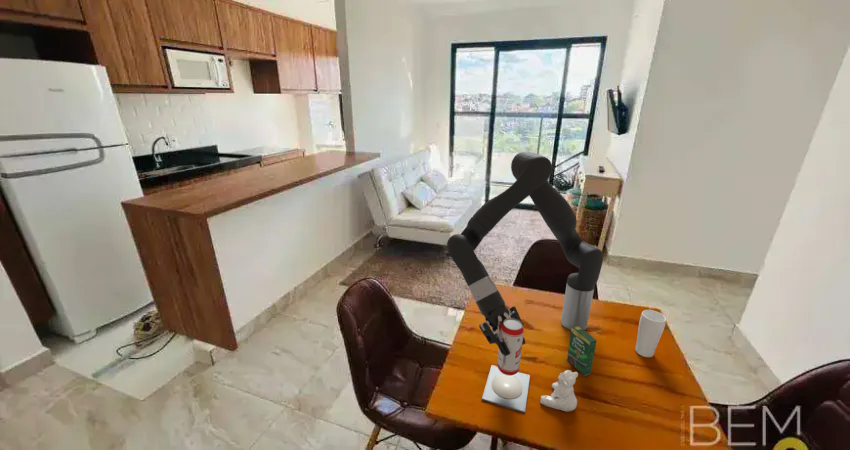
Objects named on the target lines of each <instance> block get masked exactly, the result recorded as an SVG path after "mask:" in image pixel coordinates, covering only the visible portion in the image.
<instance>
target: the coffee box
mask: <svg viewBox="0 0 850 450" xmlns="http://www.w3.org/2000/svg"><path fill="white" fill-rule="evenodd" d="M569 337H570V338H569V344H568V352H567V357H566V359H567V360H566V361H568V363H569V364H571V365H572V366H573V367H574V368H575V369H576V370H577V372H579V373H580V374H581V375H582V376H583V377H586V376H589V375H590V374H591V372H592V368H593V367H592V366H593V361H594V356H595V350H596V346H597V339H596V338H595V337H593V336H592V335H591V334H589V333H588V332H587V331H586V330H583V329H582V328H580V327H579V326H575V327H572V328H571V330H570V336H569Z"/></svg>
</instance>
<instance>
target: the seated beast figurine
mask: <svg viewBox="0 0 850 450" xmlns="http://www.w3.org/2000/svg"><path fill="white" fill-rule="evenodd" d="M578 377H579V373H578V371H574V372H572V370H569V369H567V370H564V371H563V372H560V373H559V376H558V377H557V379H558V380H557V381H555V382H553V383H552V384H551V388H552V389H553V392H552V393H551V394H550V395H541V396H540V401H539V402H540V404H541V405H543V406H545V407H548V408H551V409H555V410H558V411H559V410H561V411H562V412H563V411H564V412H572V411H573V410H575V409H576V408H577V406H578V399H577V397H576V394H575V392H574V391H575V390H574V386H575V383H576V380H577V379H576V378H578Z"/></svg>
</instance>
